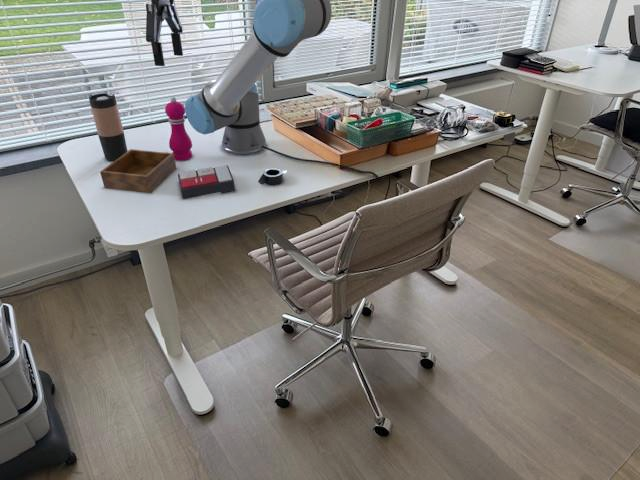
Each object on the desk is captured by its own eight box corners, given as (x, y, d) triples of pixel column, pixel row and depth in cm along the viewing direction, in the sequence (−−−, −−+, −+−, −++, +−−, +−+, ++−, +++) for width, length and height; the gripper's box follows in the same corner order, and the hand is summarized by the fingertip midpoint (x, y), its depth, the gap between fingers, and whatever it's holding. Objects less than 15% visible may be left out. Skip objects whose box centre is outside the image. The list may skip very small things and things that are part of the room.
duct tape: (292, 185, 138) (291, 176, 136) (259, 188, 136) (258, 179, 134) (286, 173, 144) (286, 165, 142) (254, 177, 142) (254, 168, 140)
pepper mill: (196, 153, 156) (188, 94, 144) (189, 162, 150) (180, 101, 138) (176, 152, 156) (166, 93, 145) (168, 161, 150) (157, 100, 139)
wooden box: (176, 168, 146) (173, 153, 143) (150, 193, 132) (146, 176, 129) (134, 164, 148) (130, 149, 145) (104, 188, 134) (99, 171, 131)
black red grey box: (177, 171, 136) (227, 162, 140) (180, 184, 138) (229, 175, 142) (179, 187, 127) (233, 178, 131) (183, 201, 130) (235, 191, 133)
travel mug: (106, 163, 148) (89, 102, 137) (103, 155, 153) (87, 95, 142) (131, 159, 151) (116, 98, 140) (127, 151, 156) (113, 92, 145)
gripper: (163, -23, 141) (174, 50, 153) (122, -14, 121) (139, 69, 132) (187, -22, 140) (196, 52, 152) (149, -13, 120) (163, 71, 132)
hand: (169, 60), depth 142 cm, fingers open, 13 cm apart
